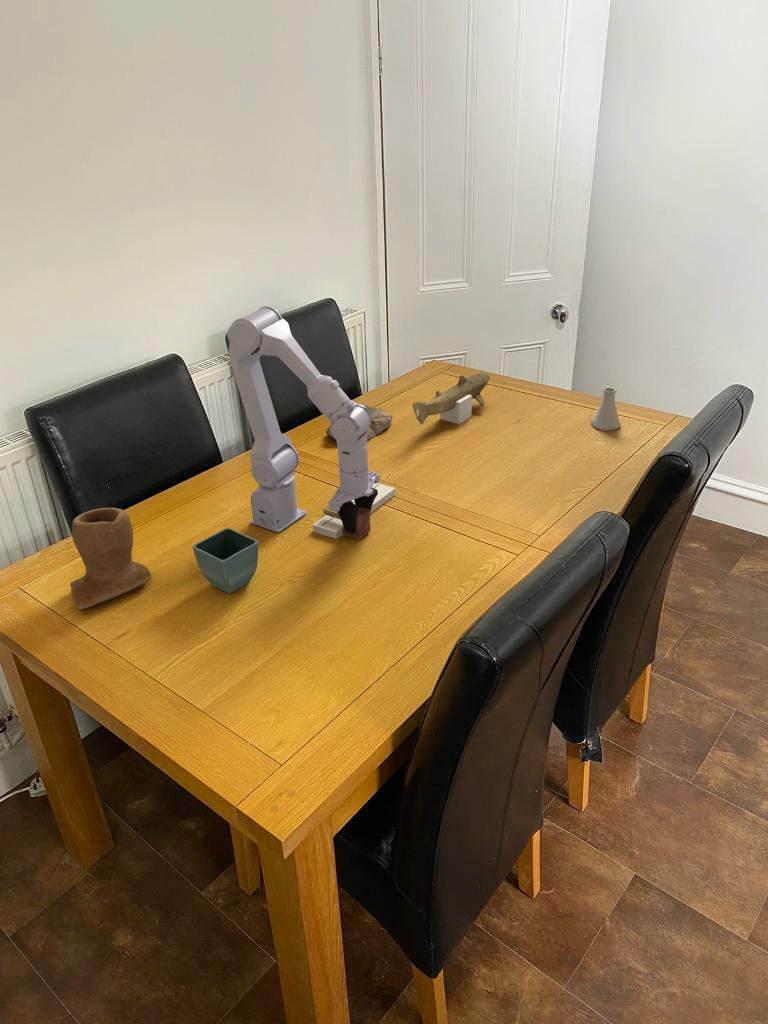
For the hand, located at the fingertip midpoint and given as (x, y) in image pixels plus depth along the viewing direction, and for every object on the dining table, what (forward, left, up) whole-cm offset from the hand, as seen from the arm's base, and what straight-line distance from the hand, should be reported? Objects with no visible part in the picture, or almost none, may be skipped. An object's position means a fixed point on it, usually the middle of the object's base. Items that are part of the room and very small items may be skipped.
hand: (356, 526), depth 165 cm
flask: (+77, -24, -2) cm, 81 cm away
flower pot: (-27, +10, -2) cm, 29 cm away
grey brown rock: (+42, +30, -2) cm, 52 cm away
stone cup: (-40, +29, -2) cm, 49 cm away
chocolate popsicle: (0, +3, -1) cm, 3 cm away
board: (+7, +5, -2) cm, 9 cm away
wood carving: (+60, +12, -2) cm, 61 cm away
